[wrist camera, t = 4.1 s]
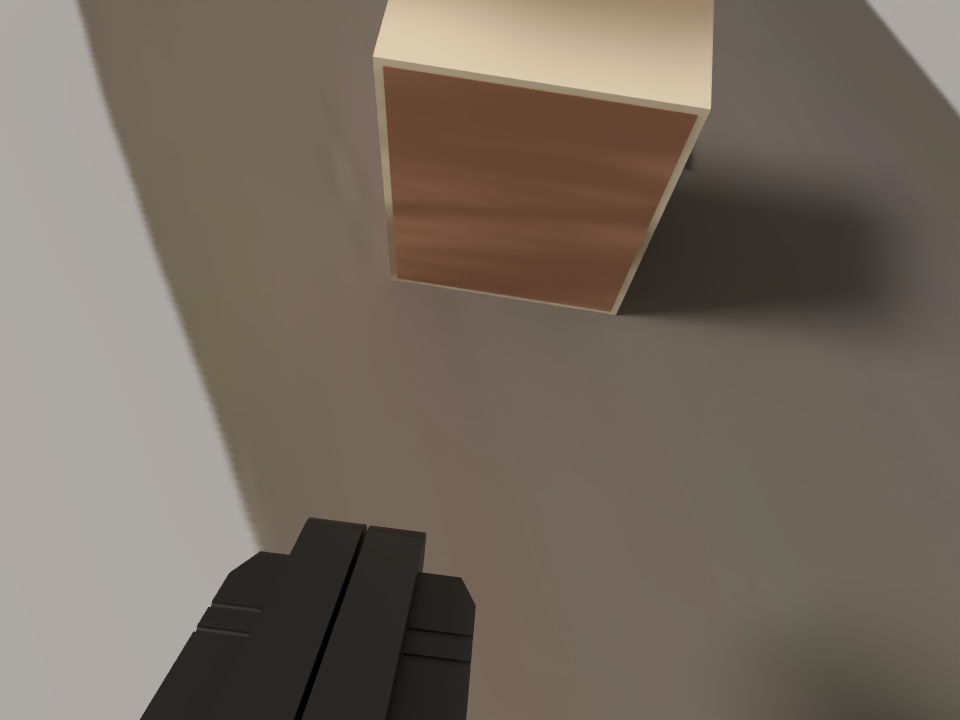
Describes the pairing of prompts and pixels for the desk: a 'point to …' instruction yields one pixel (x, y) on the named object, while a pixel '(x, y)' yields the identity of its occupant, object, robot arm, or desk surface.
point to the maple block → (536, 139)
